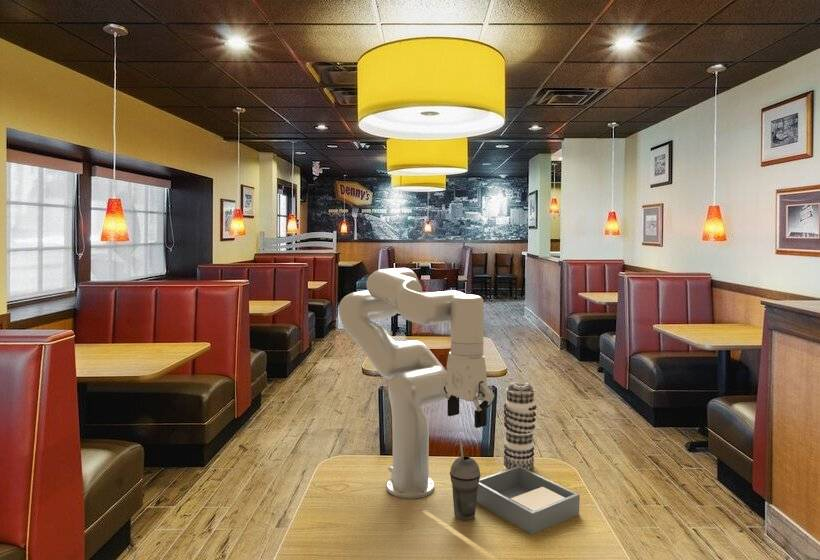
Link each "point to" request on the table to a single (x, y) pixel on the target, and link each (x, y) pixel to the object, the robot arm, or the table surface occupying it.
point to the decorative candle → (519, 426)
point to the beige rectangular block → (537, 498)
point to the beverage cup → (464, 486)
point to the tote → (519, 481)
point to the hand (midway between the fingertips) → (466, 420)
